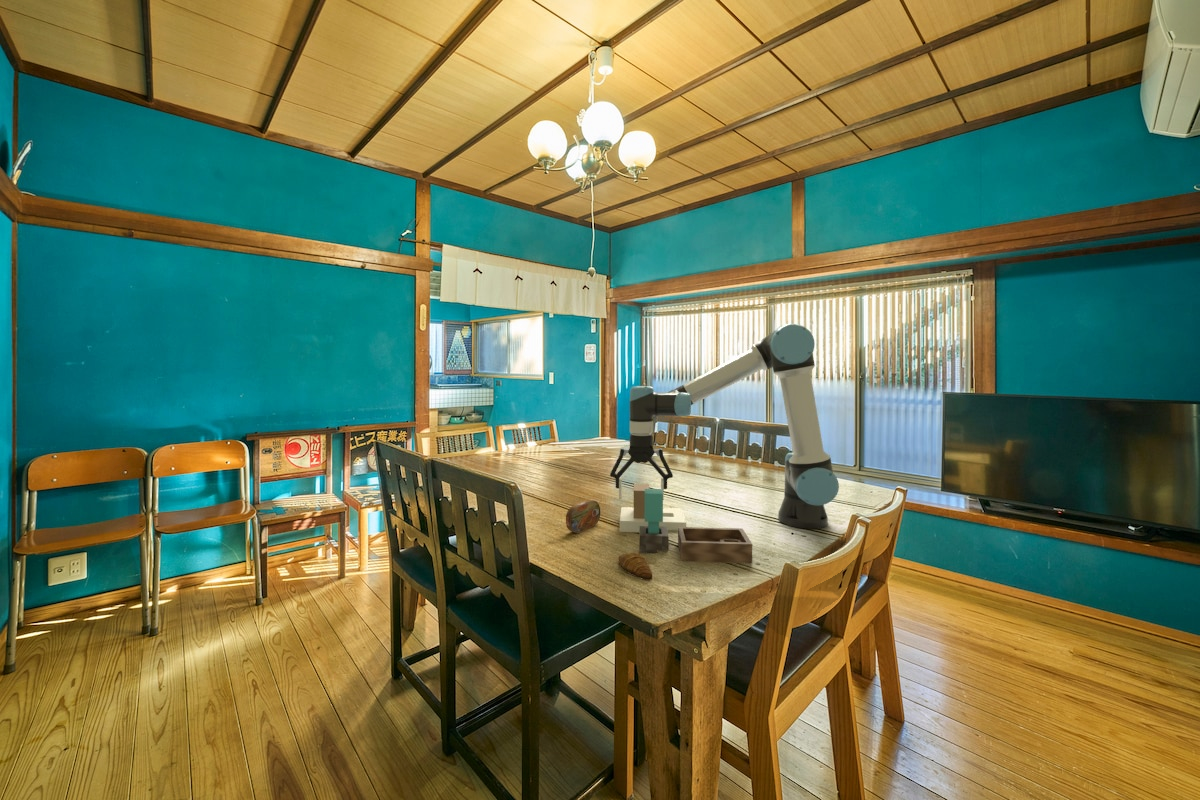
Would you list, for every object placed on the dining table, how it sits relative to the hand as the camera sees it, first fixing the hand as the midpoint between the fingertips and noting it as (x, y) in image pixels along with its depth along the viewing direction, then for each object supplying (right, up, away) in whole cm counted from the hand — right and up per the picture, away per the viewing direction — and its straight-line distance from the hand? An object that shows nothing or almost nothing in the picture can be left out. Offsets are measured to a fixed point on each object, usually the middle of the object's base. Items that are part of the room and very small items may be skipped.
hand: (641, 498), depth 156 cm
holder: (+2, -10, -20) cm, 22 cm away
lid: (+4, -9, 0) cm, 9 cm away
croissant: (-5, -12, -35) cm, 37 cm away
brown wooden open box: (+17, -11, -26) cm, 33 cm away
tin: (-19, -9, -3) cm, 21 cm away
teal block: (+2, -9, -20) cm, 22 cm away
